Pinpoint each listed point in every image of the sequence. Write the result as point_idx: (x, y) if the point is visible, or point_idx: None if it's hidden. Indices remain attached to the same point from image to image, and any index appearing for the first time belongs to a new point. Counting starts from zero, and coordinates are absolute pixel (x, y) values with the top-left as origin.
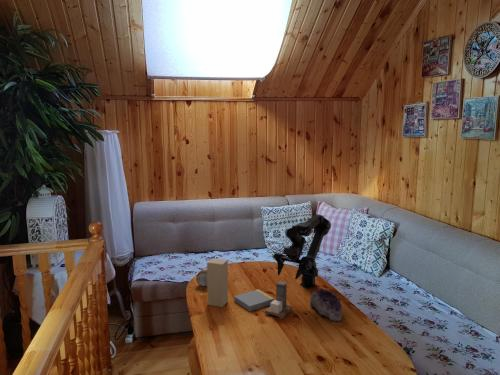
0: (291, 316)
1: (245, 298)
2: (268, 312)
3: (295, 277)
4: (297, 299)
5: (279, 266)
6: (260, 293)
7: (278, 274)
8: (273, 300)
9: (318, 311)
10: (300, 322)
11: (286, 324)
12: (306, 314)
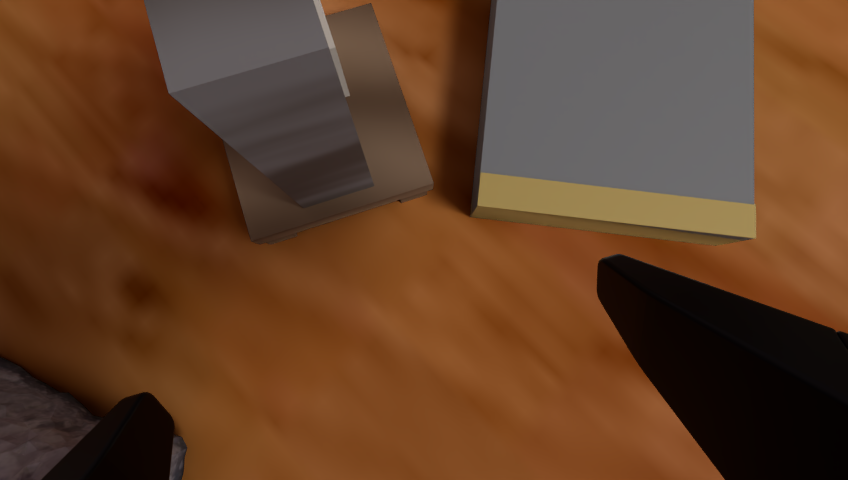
0: (197, 158)
1: (653, 12)
2: (336, 17)
3: (124, 410)
4: (385, 459)
5: (835, 379)
6: (657, 189)
7: (603, 262)
8: (327, 26)
9: (28, 381)
10: (76, 138)
11: (141, 37)
12: (123, 281)
